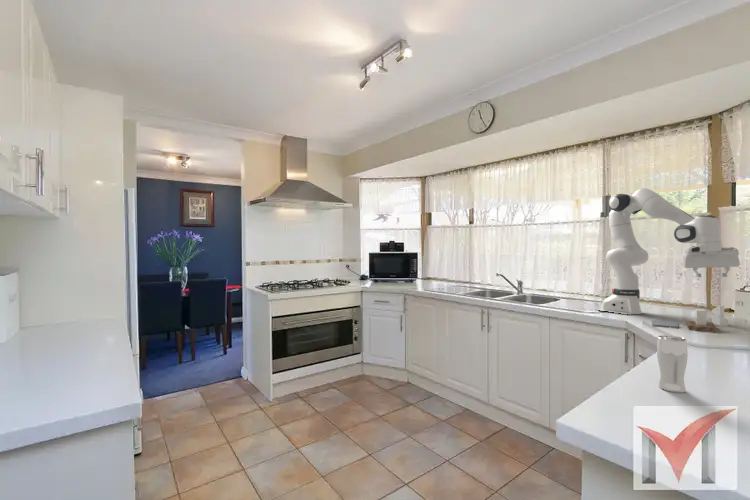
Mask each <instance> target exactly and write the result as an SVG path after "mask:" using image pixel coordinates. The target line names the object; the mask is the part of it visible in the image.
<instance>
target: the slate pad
mask: <svg viewBox="0 0 750 500" xmlns="http://www.w3.org/2000/svg"><path fill="white" fill-rule="evenodd" d="M651 325H652V327H660V328H661V327H662V328H669V327H671V329H673V328H674V329H679V326H678V323H677V322H676V321H667V320H653V319H652V320H651Z"/></svg>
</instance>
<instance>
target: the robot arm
mask: <svg viewBox="0 0 750 500" xmlns="http://www.w3.org/2000/svg"><path fill="white" fill-rule="evenodd" d="M607 206H608V208H609V209H610V212H609V213H608V223H609V230H610V234H611V239H612V241H613V242H614V243H616V244H617V245H618V246H619V247H616V248H614V249H610V250H608V251H607V252H606V255H605V260H606V262H607V264H608V265H610V266H611V267H612V269H613V271H614V273H615V283H616V285H615V287H616V288H614V287H613V288H612V289H611V292H612V294H610V295H609V296H608V297H606V298H604V299H603V300H602V303H601V306H600V307H601V309H602V310H607V311H609V312H614V313H613V314H618V313H621V314H620V315H627V314H628V316H629V315H640V314H643V311H642V309H641V304H640V303H641V302H640V298H641V293H640V289H639V276H638V274H637V273H636V272H634V270H633V267H634V266H641V265H644V264H646V263H647V262H648V261H649V254H648V251H647V250H645V249H644V248H643V247H641V245H640V243H639V242H638V241H637V239H636V237H635V234H634V231H633V224H632V221H631V216H632V214H633V215H636V214H638V212H641V211H642V212H644V213H645V214H646V215H647V216H650V217H651V218H655V219H662V220H669V221H672V222H675V223H676V224H678V225H677V227H676V228H675V229H674V232H673V236H674V238H675V240H676V241H677V242H679V243H683V244H696V245H694V246H693V245H692V246H691V247H687V248H685V249H684V253H685V254H684V255H683V257H682V266H683V268H685V269H692V271H693V272H694V273H695V276H696V278H702V273H699V272H698V269H700V268H723V269H724V272H721V277H722V278H725V277H728V273H729V272H730V271H731V267H732V268H734V267H735V268H737V267H740V265H741V262H740V259H739V255H740V254H739V253H740V252H739V249H737V248H736V247H733V246H731V247H722V240H721V236H720V235H721V227H720V222H719V219H718V218H717V216H714V215H704V214H703V215H697V216H695V217H693V216H692V215H691V214H689V213H687V212H685V211H684V210H682V209H680V208H679V207H677V206H675V205H674V204H672V203H671V202H669V201H668V200H667V199H665V198H664V197H662V196H661V195H660V194H659V193H657V192H655V191H653V190H652V189H649V188H646V187H641V188H639V189H637V190H636V191H635V192H633V193H632V192H631V193H630V192H627V193H616V194H614V195H612V196H611V197H609V199H608V205H607Z"/></svg>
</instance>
